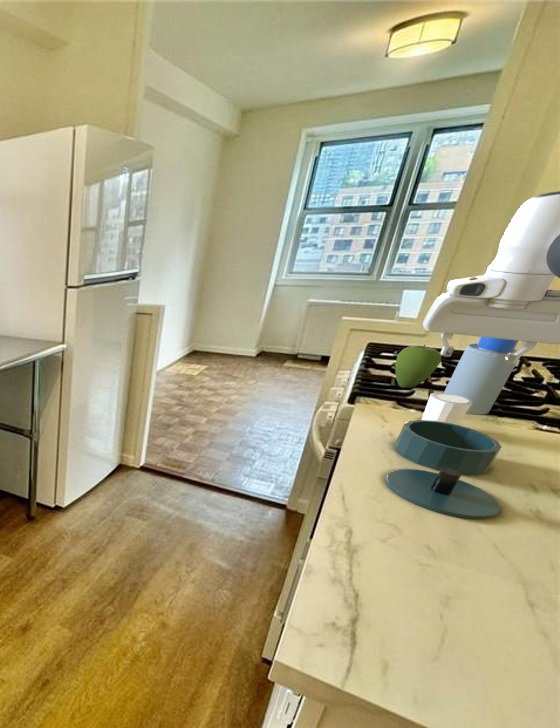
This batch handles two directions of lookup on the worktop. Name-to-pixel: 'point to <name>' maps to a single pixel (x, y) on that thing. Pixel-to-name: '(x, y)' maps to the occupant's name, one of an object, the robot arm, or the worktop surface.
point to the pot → (447, 446)
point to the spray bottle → (482, 373)
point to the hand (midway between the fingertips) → (476, 359)
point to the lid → (443, 493)
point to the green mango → (416, 365)
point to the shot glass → (446, 408)
